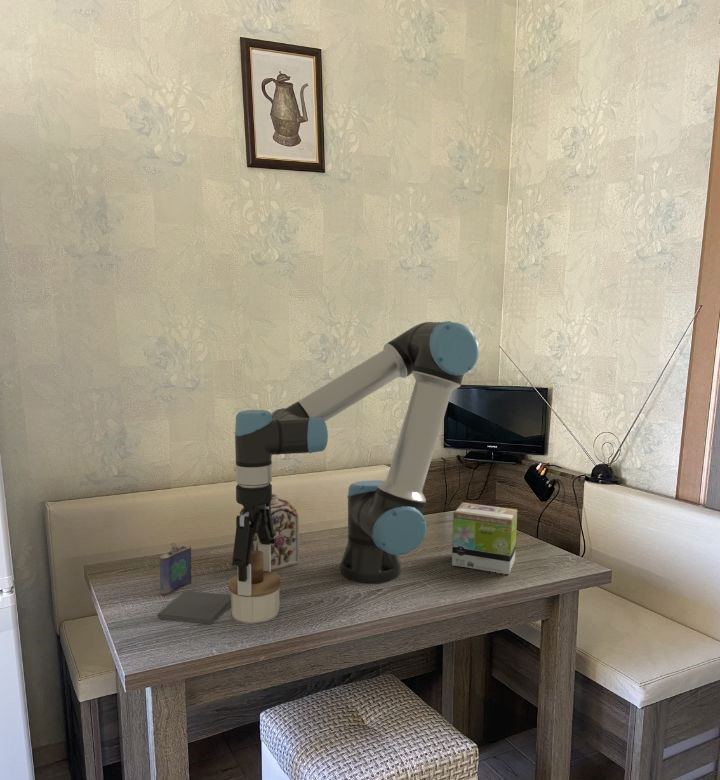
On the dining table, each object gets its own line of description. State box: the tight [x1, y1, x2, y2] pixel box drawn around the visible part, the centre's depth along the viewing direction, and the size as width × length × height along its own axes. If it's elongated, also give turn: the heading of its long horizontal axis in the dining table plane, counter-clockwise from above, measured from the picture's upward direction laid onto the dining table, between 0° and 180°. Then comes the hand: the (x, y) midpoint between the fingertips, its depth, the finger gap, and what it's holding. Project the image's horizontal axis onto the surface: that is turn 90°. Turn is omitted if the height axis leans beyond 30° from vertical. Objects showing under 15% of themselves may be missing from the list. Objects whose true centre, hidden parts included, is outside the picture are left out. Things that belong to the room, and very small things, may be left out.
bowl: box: [230, 588, 280, 625], centre depth 135 cm, size 10×10×6 cm
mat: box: [158, 590, 231, 625], centre depth 137 cm, size 12×12×1 cm
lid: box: [228, 551, 282, 597], centre depth 134 cm, size 11×11×7 cm
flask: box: [159, 542, 192, 597], centre depth 147 cm, size 9×3×11 cm, turn 151°
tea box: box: [451, 502, 518, 575], centre depth 163 cm, size 15×10×15 cm, turn 68°
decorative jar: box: [239, 493, 300, 572], centre depth 163 cm, size 12×12×18 cm
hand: (255, 583), depth 135 cm, fingers closed on lid, 11 cm apart
